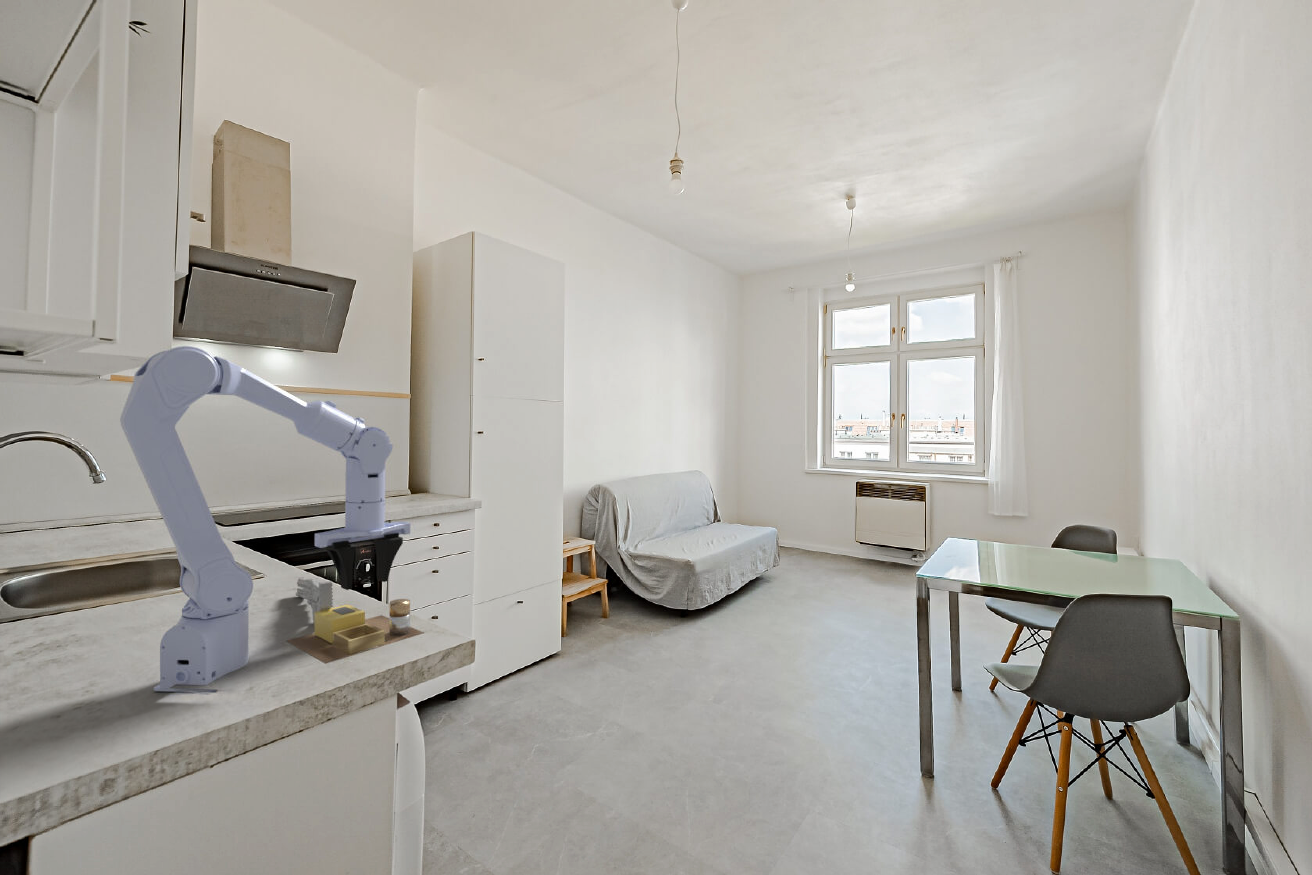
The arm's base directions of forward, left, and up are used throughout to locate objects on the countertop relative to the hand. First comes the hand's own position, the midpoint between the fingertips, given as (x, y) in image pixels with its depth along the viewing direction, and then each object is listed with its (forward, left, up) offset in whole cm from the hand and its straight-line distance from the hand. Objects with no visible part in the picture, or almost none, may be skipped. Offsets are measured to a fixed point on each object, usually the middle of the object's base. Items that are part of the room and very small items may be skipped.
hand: (364, 584), depth 93 cm
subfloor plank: (-4, -1, -8) cm, 9 cm away
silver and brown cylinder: (-2, -6, -7) cm, 10 cm away
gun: (+9, +14, -8) cm, 18 cm away
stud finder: (-3, +2, -7) cm, 8 cm away
